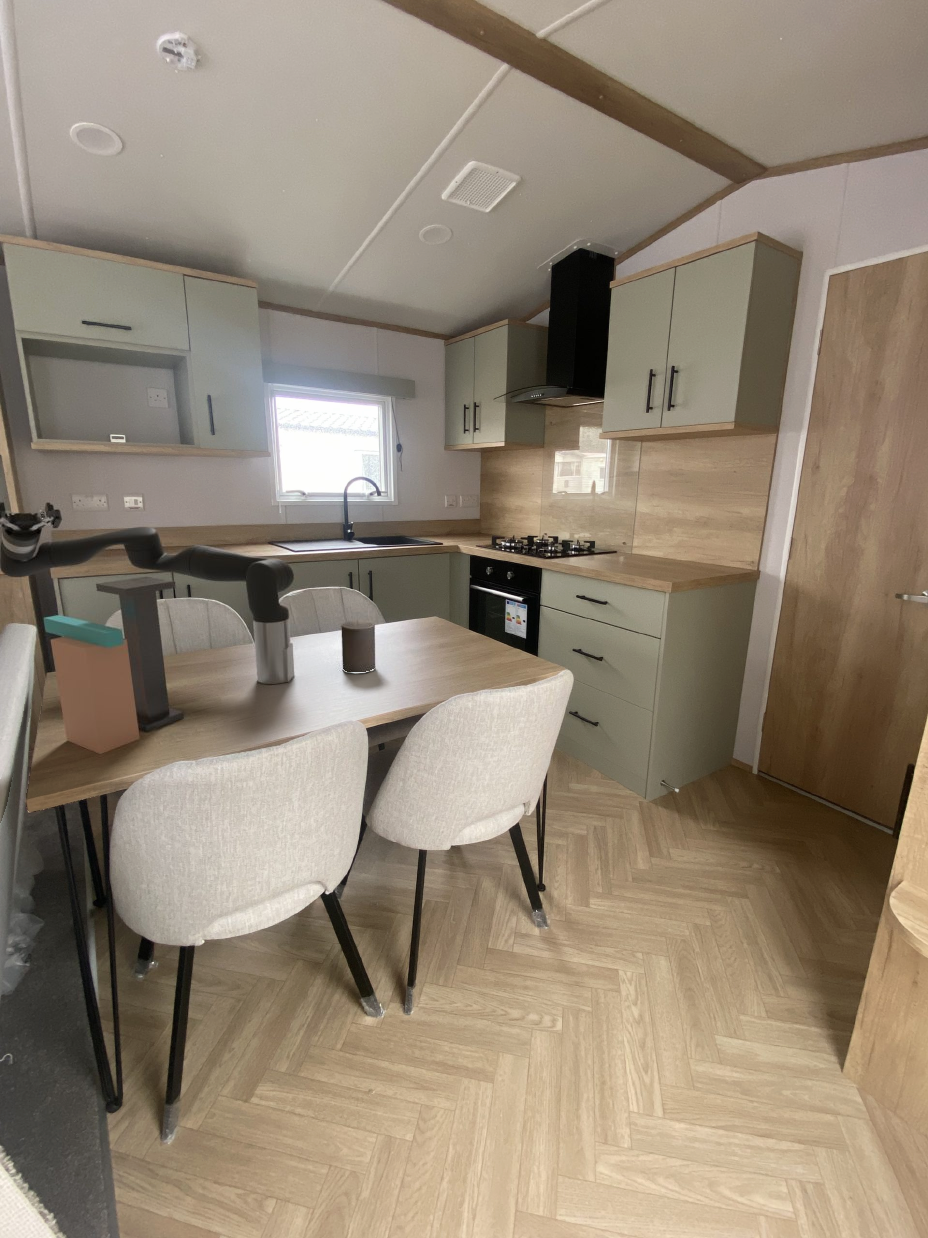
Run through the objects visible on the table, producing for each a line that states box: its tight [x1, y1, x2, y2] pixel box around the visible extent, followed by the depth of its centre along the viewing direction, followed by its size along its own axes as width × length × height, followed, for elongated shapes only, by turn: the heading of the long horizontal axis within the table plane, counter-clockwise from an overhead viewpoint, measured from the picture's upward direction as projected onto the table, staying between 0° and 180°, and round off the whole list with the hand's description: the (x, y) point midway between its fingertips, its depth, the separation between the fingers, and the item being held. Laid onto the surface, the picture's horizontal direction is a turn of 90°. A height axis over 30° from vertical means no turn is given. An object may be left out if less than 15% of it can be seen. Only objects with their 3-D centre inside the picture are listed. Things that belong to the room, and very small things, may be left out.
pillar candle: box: [341, 619, 376, 672], centre depth 162 cm, size 10×10×15 cm
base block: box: [50, 636, 140, 755], centre depth 114 cm, size 12×8×22 cm, turn 62°
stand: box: [95, 576, 185, 734], centre depth 123 cm, size 10×11×32 cm
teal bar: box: [43, 614, 124, 648], centre depth 112 cm, size 22×3×3 cm, turn 62°
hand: (26, 506), depth 128 cm, fingers open, 8 cm apart
